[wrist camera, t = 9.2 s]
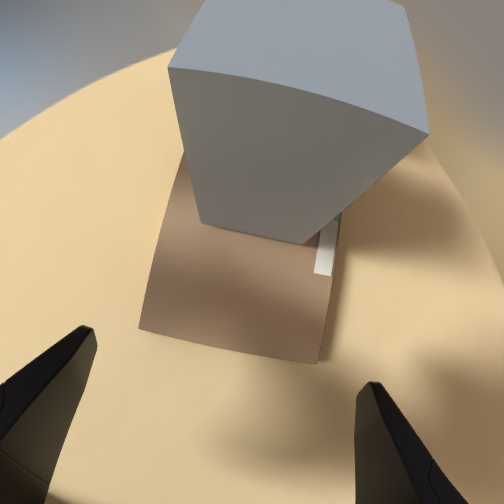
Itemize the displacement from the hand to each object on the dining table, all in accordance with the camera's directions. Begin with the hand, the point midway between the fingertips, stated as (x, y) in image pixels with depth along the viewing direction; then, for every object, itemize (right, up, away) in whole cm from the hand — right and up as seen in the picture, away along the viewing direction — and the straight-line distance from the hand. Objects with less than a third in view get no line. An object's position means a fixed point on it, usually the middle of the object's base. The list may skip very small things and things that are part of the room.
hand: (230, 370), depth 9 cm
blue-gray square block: (+2, +7, +7) cm, 10 cm away
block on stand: (+1, +6, +8) cm, 10 cm away
